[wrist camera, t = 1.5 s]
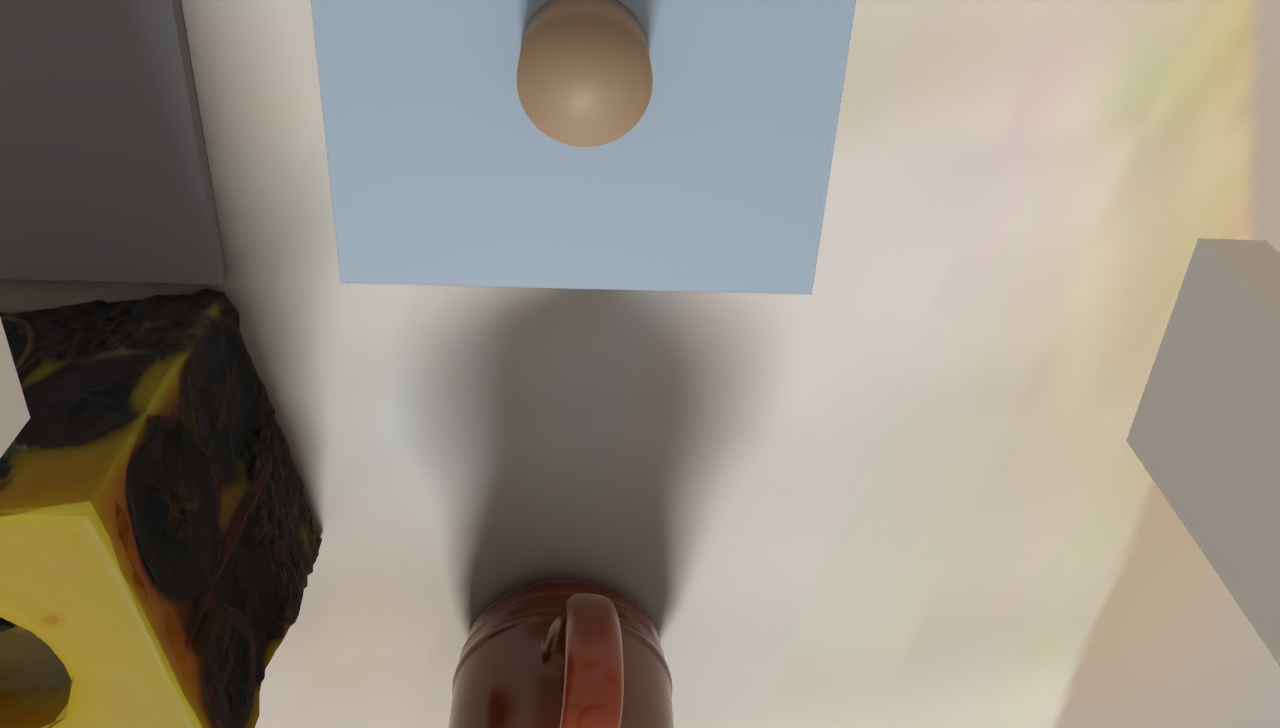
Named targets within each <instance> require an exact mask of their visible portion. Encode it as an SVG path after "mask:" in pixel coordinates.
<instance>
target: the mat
mask: <svg viewBox="0 0 1280 728" xmlns="http://www.w3.org/2000/svg"><path fill="white" fill-rule="evenodd" d="M226 275H227V274H226V268H225V262H224V256H223V250H222V244H221V238H220V232H219V226H218V220H217V214H216V209H215V203H214V197H213V191H212V185H211V179H210V173H209V167H208V161H207V155H206V149H205V143H204V137H203V131H202V125H201V119H200V113H199V107H198V101H197V95H196V89H195V84H194V78H193V72H192V66H191V60H190V54H189V48H188V42H187V36H186V30H185V24H184V18H183V12H182V6H181V0H0V279H13V280H54V281H94V282H135V283H176V284H217V285H221V283H222V282H223V280H224V278H225V276H226Z"/></svg>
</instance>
